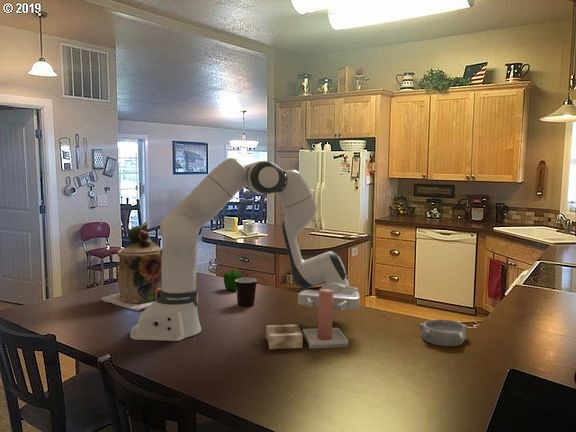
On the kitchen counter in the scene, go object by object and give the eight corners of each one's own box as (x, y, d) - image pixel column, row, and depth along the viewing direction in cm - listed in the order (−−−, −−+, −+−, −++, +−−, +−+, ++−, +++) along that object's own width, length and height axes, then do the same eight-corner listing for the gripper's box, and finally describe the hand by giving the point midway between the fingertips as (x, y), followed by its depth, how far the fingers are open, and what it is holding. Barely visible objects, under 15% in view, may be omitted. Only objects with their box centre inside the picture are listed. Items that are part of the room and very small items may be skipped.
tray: (309, 348, 142) (309, 342, 142) (302, 335, 154) (302, 329, 154) (348, 347, 144) (348, 340, 144) (338, 333, 156) (338, 327, 155)
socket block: (269, 349, 141) (269, 336, 141) (266, 337, 151) (266, 325, 151) (302, 347, 143) (302, 334, 142) (297, 336, 153) (297, 324, 152)
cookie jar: (98, 302, 190) (96, 222, 187) (146, 289, 210) (144, 218, 207) (140, 312, 177) (138, 227, 174) (186, 297, 197) (186, 221, 194)
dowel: (319, 340, 146) (320, 292, 145) (316, 335, 151) (317, 289, 150) (333, 339, 147) (335, 292, 146) (329, 335, 151) (331, 289, 150)
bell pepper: (222, 288, 214) (222, 266, 213) (240, 287, 216) (240, 265, 215) (224, 292, 206) (224, 270, 205) (243, 291, 208) (243, 269, 207)
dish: (466, 335, 156) (466, 321, 155) (467, 350, 143) (468, 334, 142) (420, 330, 160) (421, 316, 160) (417, 344, 147) (418, 329, 147)
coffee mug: (253, 308, 183) (253, 283, 182) (232, 307, 184) (232, 282, 183) (261, 300, 194) (261, 276, 193) (240, 299, 196) (241, 275, 195)
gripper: (302, 283, 163) (292, 293, 149) (362, 288, 157) (357, 298, 144) (302, 301, 163) (292, 312, 150) (361, 306, 158) (357, 318, 145)
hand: (324, 306), depth 147 cm, fingers open, 8 cm apart
